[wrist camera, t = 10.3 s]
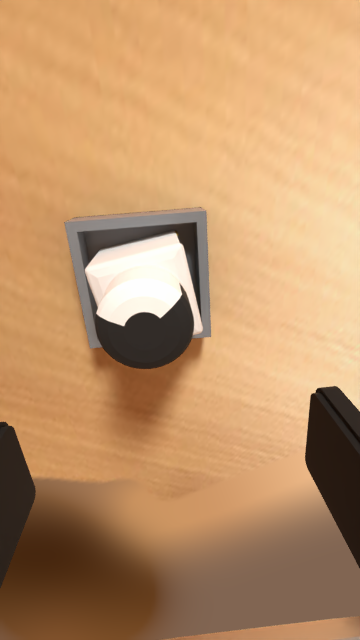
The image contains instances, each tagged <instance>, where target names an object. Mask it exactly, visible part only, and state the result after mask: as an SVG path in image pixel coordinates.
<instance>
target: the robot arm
mask: <svg viewBox="0 0 360 640" xmlns="http://www.w3.org/2000/svg"><path fill="white" fill-rule="evenodd" d="M305 460H306V465H307V468H308V470H309V472H310V474H311V476H312V477H313V480H314V482H315V483H316V485H317V487H318V489H319V491H320V493H321V495H322V497H323V499H324V501H325V502H326V505H327V507H328V508H329V510H330V512H331V514H332V516H333V518H334V520H335V522H336V524H337V526H338V528H339V529H340V531H341V533H342V535H343V537H344V539H345V541H346V543H347V545H348V547H349V549H350V550H351V552H352V554H353V556H354V558H355V560H356V562H357V564H358V566H359V568H360V412H359V410H358V409H357V408H356V407H355V406H354V405H353V404H352V402H351V401H350V400H349V399H348V398H347V397H346V396H345V394H344V393H343V392H342V391H341V390H340V389H339V388H338V387H336V386H333V387H323V388H318V389H317V390H316V393H313V394H311V398H310V409H309V420H308V431H307V442H306V453H305ZM34 499H35V486H34V483H33V480H32V478H31V475H30V472H29V469H28V466H27V464H26V461H25V458H24V455H23V452H22V450H21V447H20V444H19V441H18V438H17V436H16V433H15V430H14V428H13V427H12V426H8V424H7V423H6V422H0V587H1V585H2V582H3V580H4V577H5V574H6V572H7V569H8V567H9V564H10V562H11V559H12V557H13V554H14V551H15V549H16V546H17V543H18V541H19V538H20V536H21V533H22V531H23V528H24V525H25V523H26V520H27V518H28V515H29V512H30V510H31V507H32V504H33V502H34ZM162 640H360V616H357V617H346V618H336V619H327V620H319V621H310V622H302V623H294V624H285V625H276V626H268V627H260V628H252V629H243V630H235V631H226V632H218V633H210V634H203V635H194V636H186V637H178V638H170V639H162Z"/></svg>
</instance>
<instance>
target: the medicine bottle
mask: <svg viewBox="0 0 360 640" xmlns="http://www.w3.org/2000/svg"><path fill="white" fill-rule="evenodd" d="M85 274H86V277H87V279H88V282H89V285H90V288H91V290H92V293H93V296H94V298H95V301H96V304H97V306H98V310H97V312H96V318H95V329H96V334H97V337H98V340H99V342H100V344H101V346H102V347H103V349H104V350H105V351H106V352H107V353H108V354H109V355H110V356H111V357H112V358H113V359H115V360H116V361H118V362H120V363H122V364H124V365H126V366H129V367H133V368H139V369H151V368H157V367H161V366H164V365H166V364H169V363H170V362H172V361H174V360H175V359H177V358H178V357H179V356H180V355H181V354H182V353H183V352H184V351H185V350H186V348H187V347H188V345H189V343H190V341H191V339H192V336H193V335H196V334H200V333H201V332H202V331H203V326H202V322H201V318H200V314H199V309H198V305H197V301H196V297H195V293H194V289H193V284H192V280H191V276H190V272H189V268H188V263H187V259H186V255H185V251H184V247H183V244H182V242H181V240H180V238H179V235H178V233H177V231H175V230H171V231H168V232H164V233H160V234H156V235H152V236H148V237H145V238H141V239H137V240H133V241H129V242H126V243H122V244H118V245H114V246H110V247H106V248H103V249H100V250H99V252H98V253H97V254H96V255H95V257H94V258H93V259H92V261H91V262H90V263H89V264H88V266H87V267H86V269H85Z"/></svg>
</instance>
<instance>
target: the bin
mask: <svg viewBox="0 0 360 640" xmlns="http://www.w3.org/2000/svg"><path fill="white" fill-rule="evenodd" d="M64 223H65V228H66V233H67V237H68V242H69V247H70V252H71V257H72V262H73V267H74V272H75V277H76V282H77V286H78V291H79V296H80V301H81V306H82V311H83V316H84V321H85V326H86V331H87V335H88V340H89V345H90V348H99V347H102V346H101V344H100V342H99V340H98V337H97V334H96V329H95V318H96V312H97V310H98V306H97V304H96V301H95V298H94V296H93V293H92V290H91V288H90V285H89V282H88V279H87V277H86V274H85V269H86V267H87V266H88V264H89V263H90V262H91V261H92V259H93V258H94V257H95V255H96V254H97V253H98V252H99V250H100V249H103V248H106V247H110V246H114V245H118V244H122V243H126V242H129V241H133V240H137V239H141V238H145V237H148V236H152V235H156V234H160V233H164V232H168V231H171V230H175V231H177V233H178V235H179V238H180V240H181V242H182V244H183V247H184V251H185V255H186V259H187V263H188V268H189V272H190V276H191V280H192V284H193V289H194V293H195V297H196V301H197V305H198V309H199V314H200V318H201V322H202V326H203V331H202V332H201V333H200V334H196V335H193V336H192V339H193V338H203V337H211V321H210V295H209V268H208V242H207V215H206V210H204V209H203V208H201V207H199V208H186V209H174V210H162V211H149V212H137V213H125V214H113V215H100V216H88V217H76V218H73V219H70V220H68V221H66V222H64Z"/></svg>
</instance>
